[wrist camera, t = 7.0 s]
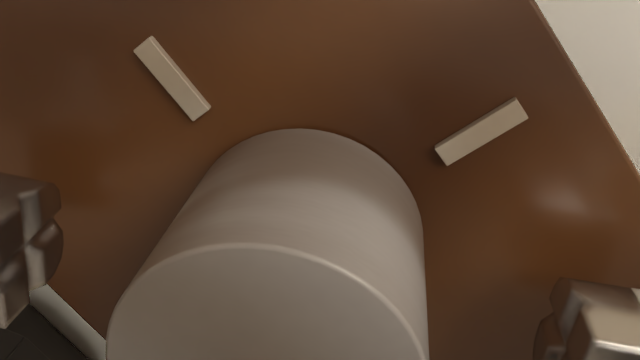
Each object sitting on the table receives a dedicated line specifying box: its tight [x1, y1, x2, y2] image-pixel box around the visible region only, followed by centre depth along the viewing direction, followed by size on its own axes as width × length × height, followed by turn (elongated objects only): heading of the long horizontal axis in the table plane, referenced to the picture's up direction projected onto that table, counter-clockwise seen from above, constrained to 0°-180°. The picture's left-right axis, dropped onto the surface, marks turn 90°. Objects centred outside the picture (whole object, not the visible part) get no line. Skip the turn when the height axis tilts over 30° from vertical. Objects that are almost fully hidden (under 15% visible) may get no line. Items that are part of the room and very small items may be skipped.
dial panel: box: [0, 0, 640, 360], centre depth 12 cm, size 12×10×3 cm
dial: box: [106, 128, 429, 360], centre depth 9 cm, size 4×4×4 cm
